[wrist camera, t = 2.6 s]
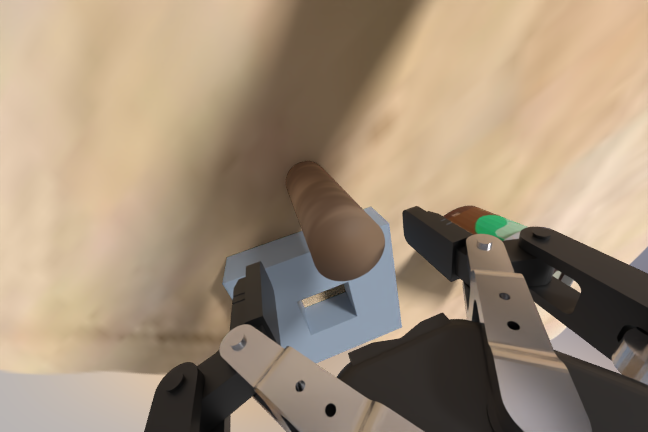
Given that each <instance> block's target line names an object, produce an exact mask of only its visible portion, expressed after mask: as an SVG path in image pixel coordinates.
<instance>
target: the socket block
mask: <svg viewBox="0 0 648 432" xmlns="http://www.w3.org/2000/svg"><path fill="white" fill-rule="evenodd" d="M363 210H364V211H365V212H366V213H367V214H368V215H369V216H370V217H371V218H372V219H373V220H374V221H375V222H376V223H377V224H378V225H379V226H380V228H381V229H382V231H383V233H384V237H385V248H384V252H383V254H382V256H381V258H380V260H379V262H378V263H377V264H376V265H375V266H374V267H373V268H372V269H371V270H370V271H369V272H368V273H366V274H365V275H363V276H361V277H359V278H357V279H353V280H350V281H333V280H330V279H327V278H325V277H324V276H322V275H321V274H320V273H319V272H318V270H317V269H316V267H315V265H314V262H313V259H312V256H311V254H310V251H309V248H308V245H307V243H306V240H305V237H304V234H303V231H300V232H298V233H295V234H292V235H289V236H286V237H283V238H281V239H278V240H275V241H272V242H269V243H266V244H263V245H261V246H258V247H255V248H252V249H249V250H246V251H244V252H241V253H238V254H235V255H232V256H229V257H227V260H226V266H225V272H224V278H223V283H222V284H223V286H224V287H225V289H226V290H227V292H228V294H229V295H230V297H231V298H232V300H233V290H234V287H235V285H236V283H237V281H238V279H241V278H244V277H246V266H248V265H251V264H253V263H256V262H259V261H261V262H262V264H263V266H264V268H265V270H266V273H267V275H268V277H269V279H270V281H271V284H272V286H273V290H274V294H275V302H276V310H277V318H278V326H279V334H280V342H281V347H283V348H286V347H287V346H290V347H292V348H294V349H295V350H297V351H298V352H300V353H301V354H303V355H304V356H306V357H307V358H309V359H310V360H311V361H313V362H314V363H318V362H321V361H323V360H325V359H328V358H330V357H332V356H335V355H337V354H340V353H342V352H344V351H347V350H349V349H351V348H354V347H356V346H359V345H361V344H363V343H366V342H368V341H370V340H373V339H375V338H378V337H380V336H382V335H385V334H387V333H389V332H392V331H394V330H396V329H399V328H401V327H402V325H401V317H400V308H399V300H398V292H397V284H396V276H395V268H394V260H393V252H392V244H391V235H390V227H389V223H388V222H387V221H386V220H385V219H384V218H383V217H382V216H381V215H380V214H378V213H377V212H376V211H375V210H374V209H373V208H372V207H369V208H366V209H363ZM341 284H344V287H345V291H346V292H344V293H342V294H339V295H336V296H334V297H331V298H329V299H326V300H324V301H321V302H318V303H316V304H313V305H311V306H308V307H306V308H304V305H303V303H302V301H301V300H303V299H305V298H308V297H310V296H313V295H315V294H318V293H321V292H323V291H326V290H328V289H331V288H334V287H336V286H339V285H341Z"/></svg>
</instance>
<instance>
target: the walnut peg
mask: <svg viewBox="0 0 648 432" xmlns="http://www.w3.org/2000/svg"><path fill="white" fill-rule="evenodd" d="M286 187H287V190H288V193H289V196H290V198H291V201H292V204H293V207H294V209H295V212H296V215H297V218H298V220H299V223H300V226H301V229H302V231H303V234H304V237H305V240H306V243H307V245H308V248H309V251H310V254H311V256H312V259H313V262H314V265H315V267H316V269H317V270H318V272H319V273H320V274H321V275H322V276H324V277H325V278H327V279H330V280H333V281H350V280H353V279H357V278H359V277H361V276H363V275H365V274H366V273H368V272H369V271H370V270H371V269H372V268H373V267H374V266H375V265H376V264H377V263H378V262H379V260H380V258H381V256H382V254H383V252H384V248H385V237H384V233H383V231H382V229H381V228H380V226H379V225H378V224H377V223H376V222H375V221H374V220H373V219H372V218H371V217H370V216H369V215H368V214H367V213H366V212H365V211H364V210H363V209H362V208H361V207H360V206H359V205H358V204H357V203H356V202H355V201H354V200H353V199H352V198H351V197H350V196H349V195H348V194H347V193H346V192H345V191H344V190H343V188H342V187H341V186H340V185H339V184H338V183H337V182H336V181H335V180H334V179H333V178H332V177H331V176H330V175H329V174H328V173H327V172H326V171H325V170H324V169H323V168H322V167H321V166H320V165H318V164H317V163H315V162H311V161H304V162H300V163H298V164H296V165H295V166H293V167H292V168H291V169H290V171H289V172H288V174H287V177H286Z"/></svg>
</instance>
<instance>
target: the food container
mask: <svg viewBox="0 0 648 432" xmlns="http://www.w3.org/2000/svg"><path fill="white" fill-rule="evenodd" d="M444 217H445V218H446V219H448V220H450V221H451V222H452V223H455V224H456V225H458V226H460V227H461V228H463V229H465V230H466V231H468V232H470V233H471V234H473V235H475V234H488V235H492V236H495V237H497V238H499V239H500V240H501V241H504V240H512V239H519V235H520V231H521V230H522V229H524V228H527V227H526V226H524V225H521V224H519V223H516V222H514V221H511V220H508V219H506V218H503V217H501V216H498V215H496V214H493V213H491V212H488V211H486V210H483V209H480V208H478V207H475V206H463V207H460V208H457V209H455V210H453V211H451V212H449V213H448V214H446V215H445V216H444ZM544 228H546V227H544ZM548 229H550V228H548ZM553 276H554V277H555V278H557V279H558V280H560V281H562V282H563V283H565V284H566V285H568V286H571V284H572V282H573V281H574V280H573V279H571V278H570V277H568V276H566V275H565V274H563V273H561V272H560V271H558V270H556V269H555V270H554V273H553Z"/></svg>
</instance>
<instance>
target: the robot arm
mask: <svg viewBox="0 0 648 432" xmlns="http://www.w3.org/2000/svg"><path fill="white" fill-rule="evenodd" d="M403 228H404V236H405V239H406V241H407V242H408V244H409V245H410V246H411V247H413V248H414V249H415V250H416V251H417V252H418V253H419V254H420V255H421V256H423V257H424V258H425V259H426V260H427V261H428V262H429V263H430V264H432V265H433V266H434V267H435V268H436V269H437V270H438V271H439V272H440V273H442V274H443V275H444V276H445V277H446V278H447V279H448V280H449V281H450V282H452V281H455V280H457V279H461V280H463V293H464V301H465V309H466V317H467V320H463V319H450V320H449V319H448V318H447V317H446V316H445V315H444V313H440V314H438V315H436V316H433V317H431V318H429V319H426V320H424V321H422V322H420V323H419V324H417V325H416V326H415V327H414V328H413V329H411V330H410V331H409V332H408V333H407V334H405V335H404V336H403V337H402V338H399V339H394V340H387V341H381V342H374V343H371V344H368V345H366V346H364V347H361V348H359V349H357V350H354V351H352V352H350V353H348V355H349V358H350V361H351V362H350V363H349V364H347V365H346V366H345V367H344V368H343V369H342V371H341V372H340V373H339V374H338V376H337V377H335V376H334V375H332V374H331V373H329V372H328V371H326V370H325V369H323V368H322V367H320V366H319V365H317V364H316V363H314V362H313V361H311V360H310V359H309V358H307V357H306V356H304V355H303V354H301V353H300V352H298V351H297V350H295V349H294V348H292V347H290V346H287V347H286V348H283V347H281V342H280V334H279V326H278V318H277V310H276V302H275V294H274V290H273V286H272V284H271V281H270V279H269V277H268V275H267V273H266V270H265V268H264V266H263V264H262V262H261V261H259V262H256V263H253V264H251V265H248V266H246V277H244V278H241V279H238V281H237V283H236V285H235V287H234V290H233V301H232V304H233V305H232V312H231V323H230V332H228V333H227V335H226V336H225V337H224V338H223V340H222V342H221V344H220V349H219V351H218V352H216V353H215V354H214V355H213V356H211V357H210V358H208V359H207V360H206V361H204V362H203V363H201V364H200V365H198V366H196V365H195V364H194V363H191V362H186V363H183V364H180V365H178V366H176V367H175V368H173V369H172V370H171V371H170V372H169V373H167V374H166V376H165V377H164V378H163V379H162V380H161V382H160V383H159V385H158V387H157V389H156V391H155V394H154V398H153V402H152V405H151V409H150V412H149V416H148V420H147V423H146V427H145V431H144V432H230V414H231V413H233V412H234V411H235V410H236V409H237V408H239V407H240V406H241V405H242V404H243V403H245V402H246V401H247V400H248V399H249V398H251V397H253V398H254V399H255V400H256V401H257V402H258V403H259V404H260V405H261V406H262V407H263V408H264V409H265V410H266V411H267V412H268V413H269V414H270V415H271V416H272V417H273V418H274V419H275V420H276V421H277V422H278V423H279V424H280V425H281V427H283V429H284V430H285V431H286V432H648V274H647V273H645V272H643V271H641V270H639V269H636V268H635V267H632V266H630V265H628V264H626V263H624V262H622V261H619V260H617V259H615V258H613V257H611V256H609V255H606V254H604V253H602V252H600V251H598V250H596V249H593V248H591V247H589V246H587V245H585V244H583V243H580V242H578V241H576V240H574V239H572V238H570V237H567V236H565V235H563V234H561V233H559V232H557V231H554V230H552V229H548V228H544V227H527V228H524V229H522V230H521V231H520V235H519V239H512V240H504V241H501V240H500V239H499V238H497V237H495V236H492V235H488V234H475V235H473V234H471V233H470V232H468V231H466V230H465V229H463V228H461V227H460V226H458V225H456V224H455V223H452V222H451V221H450V220H448V219H446V218H445V217H443V216H441V215H439V214H437V213H433V212H430V211H428V212H426V211H425V210H423V209H421V208H420V207H418V206H415V207H412V208H409V209H407V210H404V211H403ZM555 269H556V270H558V271H560V272H561V273H563V274H565V275H566V276H568V277H570V278H571V279H573V280H574V281H576V282H577V283H578V284H579V286H580V288H581V293H579V292H578V291H576V290H575V289H573V288H571V287H570V286H568V285H566V284H565V283H563V282H562V281H560V280H558V279H557V278H555V277H554V276H553V273H554V270H555ZM534 302H535V303H537V304H538V305H539V306H541V307H542V308H543V309H545V310H546V311H547V312H548V313H550V314H551V315H552V316H554V317H555V318H556V319H558V320H559V321H560V322H562V323H563V324H564V325H566V326H567V327H568V328H569V329H571V330H572V331H573V332H575V333H576V334H578V335H579V336H580V337H581V338H583V339H584V340H585V341H587V342H588V343H589V344H590V345H592V346H593V347H594V348H596V349H597V350H598V351H600V352H601V353H602V354H604V355H605V356H606V357H608V358H609V359H610V360H612V361H613V364H614V366H615V367H616V368H617V370H618V371H619V372H620V373H621V374H622V375H621V374H619V373H616V372H613V371H610V370H608V369H605V368H602V367H600V366H597V365H594V364H591V363H588V362H586V361H583V360H580V359H578V358H575V357H572V356H569V355H567V354H564V353H561V352H558V351H556V350H553V347H552V345H551V343H550V340H549V337H548V335H547V333H546V330H545V328H544V325H543V323H542V320H541V318H540V315H539V313H538V311H537V308H536V306H535V303H534Z"/></svg>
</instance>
